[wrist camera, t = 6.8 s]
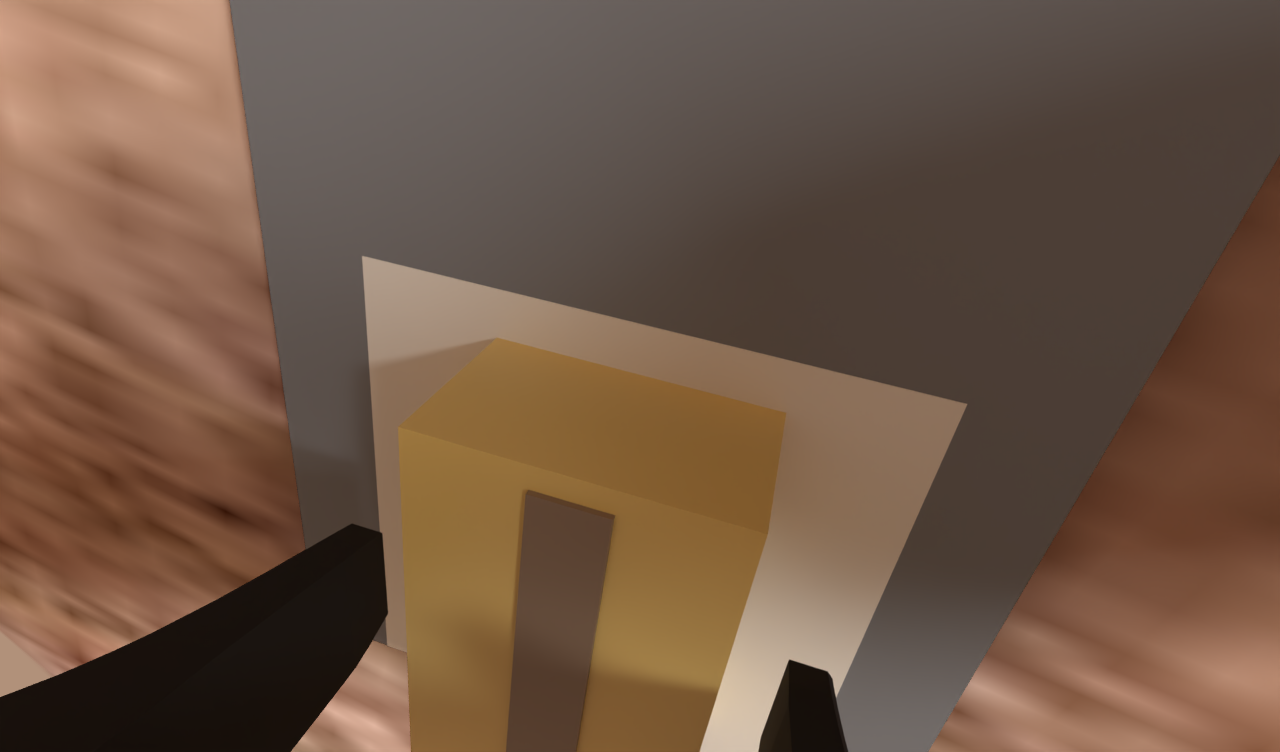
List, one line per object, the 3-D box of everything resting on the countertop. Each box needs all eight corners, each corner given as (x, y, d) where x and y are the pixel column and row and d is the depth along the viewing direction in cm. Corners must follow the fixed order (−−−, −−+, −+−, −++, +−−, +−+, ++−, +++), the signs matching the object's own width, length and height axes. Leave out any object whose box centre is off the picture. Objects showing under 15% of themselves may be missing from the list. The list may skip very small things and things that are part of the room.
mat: (2190, -1506, 4) (2408, -1755, 3) (887, 791, 15) (888, 819, 15) (116, -1189, 6) (45, -1307, 6) (331, 602, 17) (315, 620, 17)
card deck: (695, 719, 15) (661, 873, 12) (483, 647, 16) (408, 777, 13) (785, 413, 11) (767, 540, 8) (497, 337, 12) (393, 431, 9)
